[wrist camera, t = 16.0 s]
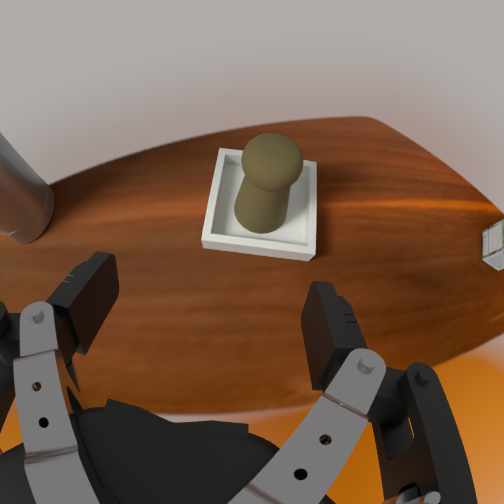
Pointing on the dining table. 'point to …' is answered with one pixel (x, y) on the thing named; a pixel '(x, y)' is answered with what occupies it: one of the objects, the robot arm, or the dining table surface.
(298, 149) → the cork
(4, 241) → the dining table surface
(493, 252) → the syrup box
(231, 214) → the keeper tray
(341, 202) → the dining table surface
